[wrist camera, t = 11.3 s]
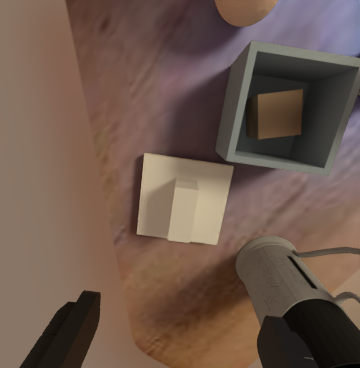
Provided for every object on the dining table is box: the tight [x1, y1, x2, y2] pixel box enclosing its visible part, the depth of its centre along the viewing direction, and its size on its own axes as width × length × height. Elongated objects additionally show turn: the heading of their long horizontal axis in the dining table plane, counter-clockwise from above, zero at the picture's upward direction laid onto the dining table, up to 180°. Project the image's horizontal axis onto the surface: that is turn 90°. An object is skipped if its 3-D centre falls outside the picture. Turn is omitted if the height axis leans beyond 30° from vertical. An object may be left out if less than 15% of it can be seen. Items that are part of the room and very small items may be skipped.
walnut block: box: [245, 89, 303, 139], centre depth 21 cm, size 4×4×4 cm
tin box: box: [215, 41, 360, 176], centre depth 20 cm, size 9×9×7 cm
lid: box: [137, 153, 234, 245], centre depth 24 cm, size 10×10×5 cm
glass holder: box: [235, 236, 360, 368], centre depth 21 cm, size 9×14×15 cm, turn 144°
